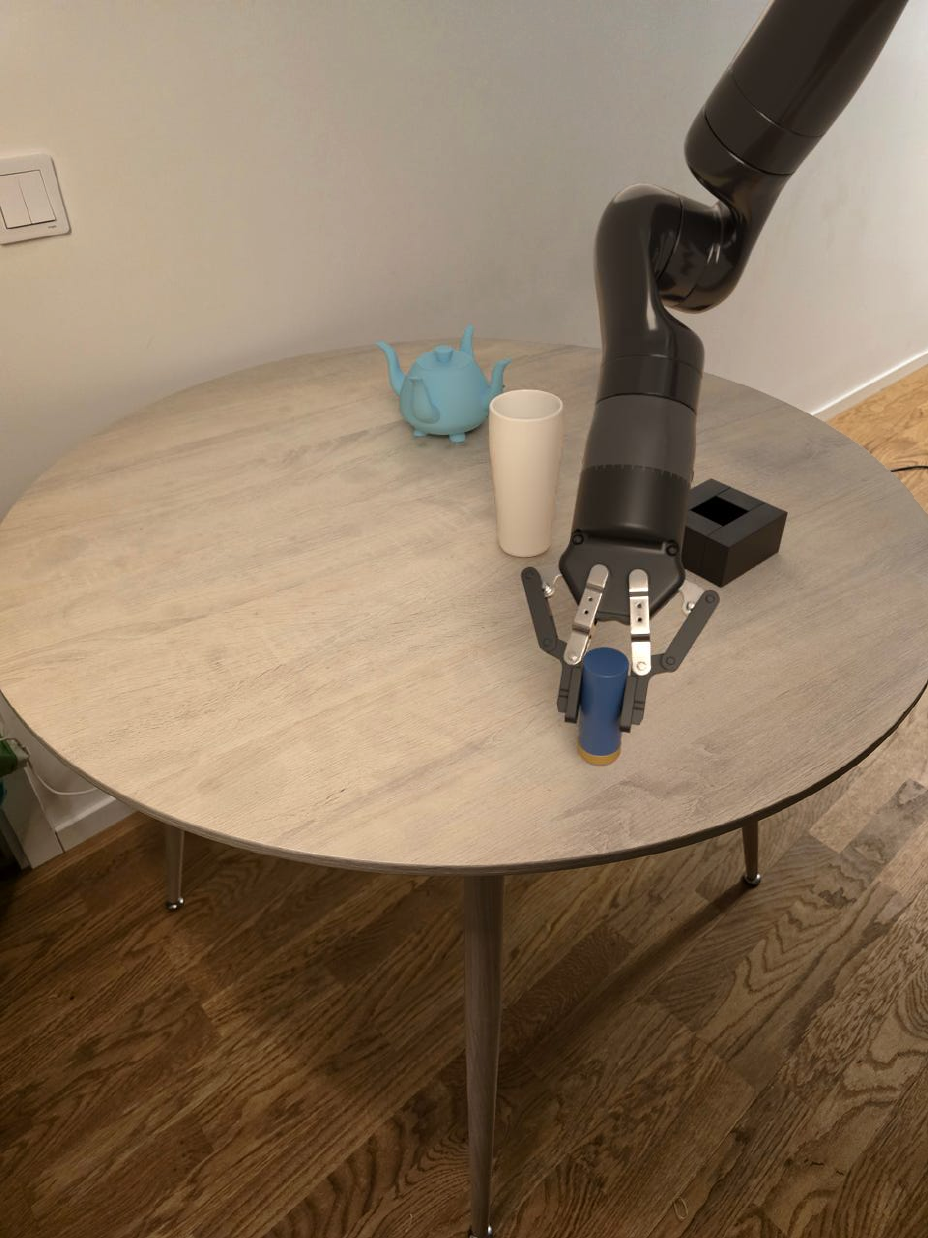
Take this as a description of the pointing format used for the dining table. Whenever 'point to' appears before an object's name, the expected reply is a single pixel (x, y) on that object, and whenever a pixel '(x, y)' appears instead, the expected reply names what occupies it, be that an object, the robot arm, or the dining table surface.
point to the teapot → (444, 389)
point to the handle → (601, 705)
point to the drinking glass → (525, 467)
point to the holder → (728, 532)
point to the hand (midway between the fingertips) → (598, 726)
